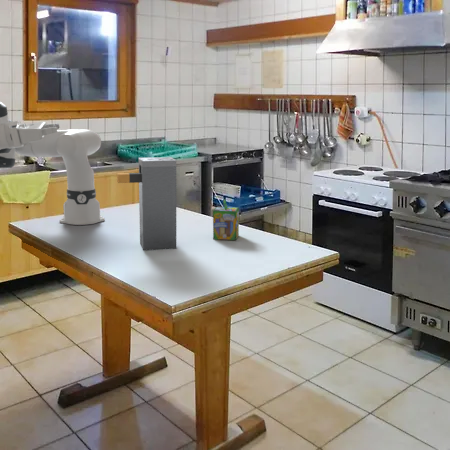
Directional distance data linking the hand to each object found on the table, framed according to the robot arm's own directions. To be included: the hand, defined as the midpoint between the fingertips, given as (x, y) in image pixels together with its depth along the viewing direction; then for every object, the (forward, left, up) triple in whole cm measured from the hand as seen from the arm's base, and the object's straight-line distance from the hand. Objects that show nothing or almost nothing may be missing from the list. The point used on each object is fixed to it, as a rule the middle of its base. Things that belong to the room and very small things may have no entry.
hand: (58, 127), depth 201 cm
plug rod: (+6, +28, -19) cm, 34 cm away
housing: (+6, +33, -43) cm, 55 cm away
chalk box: (-2, +61, -43) cm, 75 cm away
